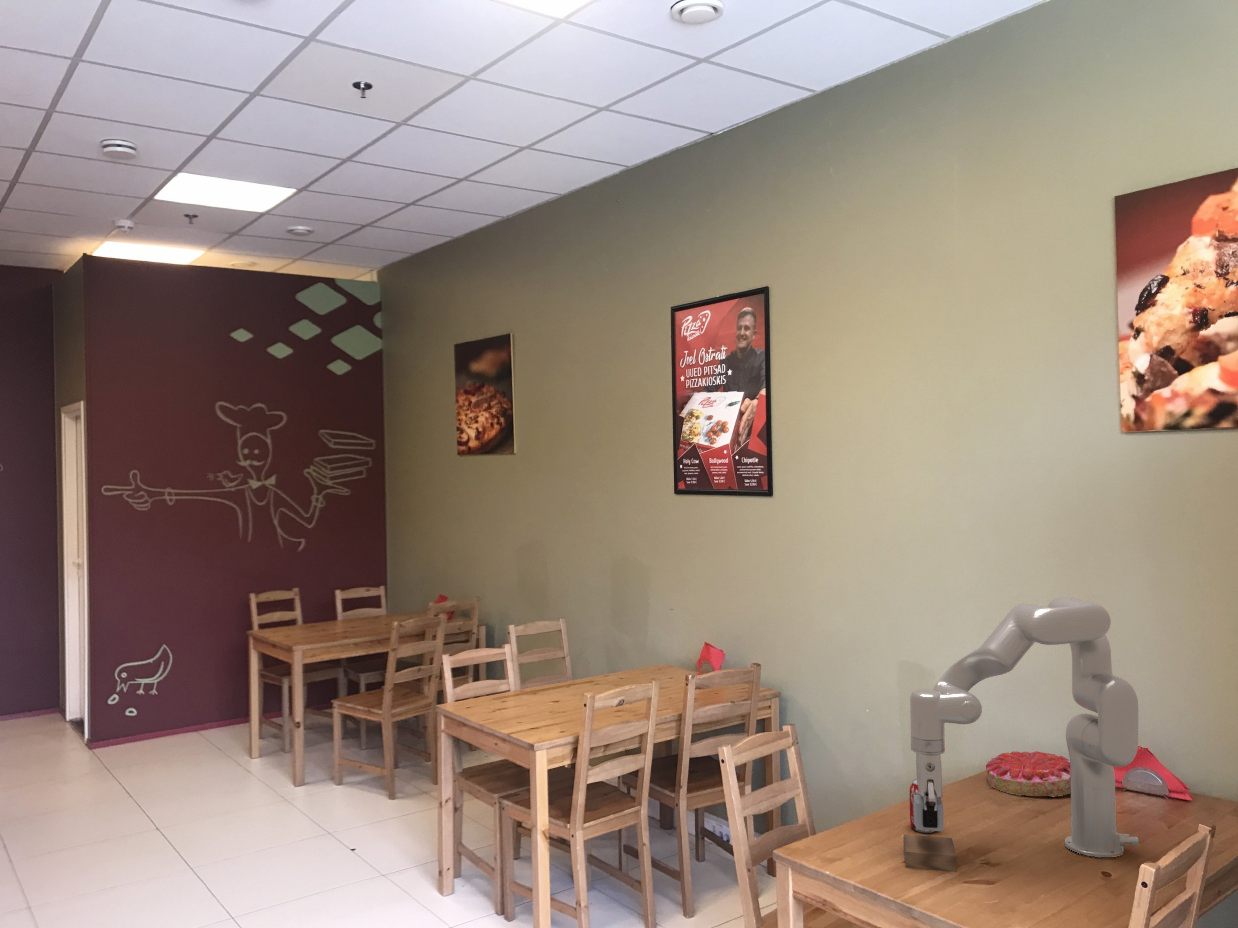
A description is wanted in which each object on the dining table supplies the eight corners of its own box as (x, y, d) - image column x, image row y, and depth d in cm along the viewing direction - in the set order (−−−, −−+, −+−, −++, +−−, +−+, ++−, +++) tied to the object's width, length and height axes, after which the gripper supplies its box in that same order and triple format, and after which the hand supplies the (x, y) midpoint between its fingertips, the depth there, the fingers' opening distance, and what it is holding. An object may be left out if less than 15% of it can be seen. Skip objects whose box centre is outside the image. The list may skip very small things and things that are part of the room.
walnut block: (952, 854, 227) (951, 837, 227) (956, 873, 216) (956, 855, 216) (903, 850, 230) (903, 833, 230) (905, 869, 219) (905, 851, 219)
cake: (1093, 780, 277) (1090, 752, 277) (1064, 806, 258) (1061, 776, 259) (1006, 768, 294) (1004, 742, 294) (974, 792, 275) (971, 764, 275)
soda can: (941, 835, 238) (940, 786, 238) (911, 833, 240) (910, 785, 240) (937, 825, 245) (936, 778, 245) (908, 823, 247) (908, 776, 247)
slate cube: (940, 821, 225) (940, 796, 226) (943, 831, 220) (943, 804, 220) (913, 820, 227) (913, 794, 227) (916, 829, 221) (916, 803, 221)
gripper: (949, 755, 214) (950, 836, 214) (939, 735, 231) (940, 810, 231) (914, 753, 216) (915, 834, 215) (907, 733, 233) (908, 808, 232)
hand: (928, 821), depth 223 cm, fingers closed on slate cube, 6 cm apart
